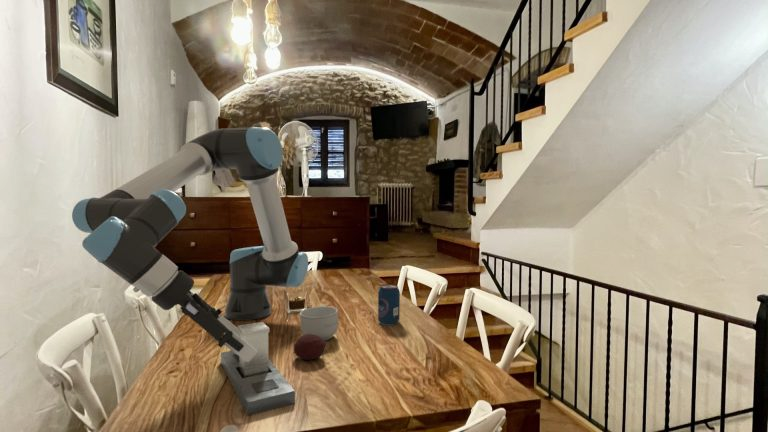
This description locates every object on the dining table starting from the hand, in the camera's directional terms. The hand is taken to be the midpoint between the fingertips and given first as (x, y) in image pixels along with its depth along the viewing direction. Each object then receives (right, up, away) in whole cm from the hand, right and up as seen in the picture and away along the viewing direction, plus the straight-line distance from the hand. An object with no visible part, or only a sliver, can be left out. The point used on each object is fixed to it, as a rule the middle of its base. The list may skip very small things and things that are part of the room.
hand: (245, 346), depth 88 cm
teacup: (+11, -7, +32) cm, 34 cm away
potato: (+11, -8, +15) cm, 20 cm away
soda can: (+31, -7, +45) cm, 55 cm away
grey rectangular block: (+1, -8, +2) cm, 9 cm away
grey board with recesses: (+1, -8, +2) cm, 9 cm away
